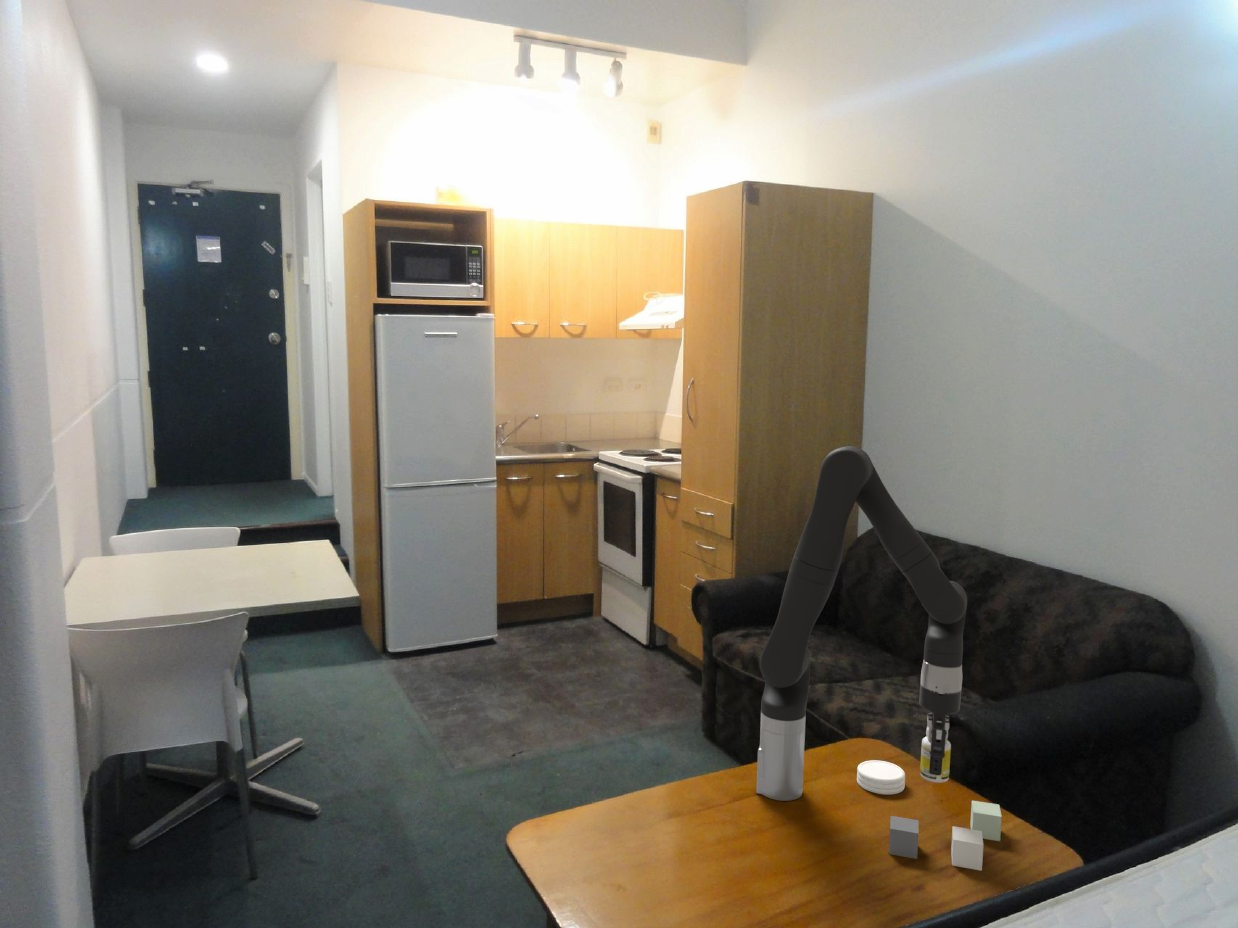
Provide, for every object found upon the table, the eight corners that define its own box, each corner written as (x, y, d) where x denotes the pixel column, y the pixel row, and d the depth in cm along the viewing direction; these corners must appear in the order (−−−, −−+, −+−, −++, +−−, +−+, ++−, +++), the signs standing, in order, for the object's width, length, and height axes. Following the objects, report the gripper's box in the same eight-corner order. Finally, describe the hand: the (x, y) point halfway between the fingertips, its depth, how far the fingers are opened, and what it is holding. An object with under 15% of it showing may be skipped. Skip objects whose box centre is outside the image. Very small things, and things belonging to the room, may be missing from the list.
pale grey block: (952, 865, 158) (953, 839, 158) (951, 851, 163) (952, 825, 162) (981, 870, 157) (983, 844, 156) (980, 856, 161) (981, 830, 161)
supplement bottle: (944, 771, 174) (948, 724, 173) (952, 784, 169) (955, 735, 168) (916, 769, 175) (920, 722, 174) (923, 782, 170) (926, 733, 169)
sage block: (971, 836, 168) (973, 812, 168) (970, 824, 173) (971, 800, 172) (1000, 841, 167) (1001, 816, 166) (997, 828, 171) (999, 804, 171)
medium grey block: (888, 854, 162) (889, 828, 161) (889, 840, 166) (890, 815, 166) (917, 859, 160) (918, 833, 160) (917, 845, 165) (918, 820, 164)
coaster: (848, 776, 193) (848, 761, 193) (888, 772, 195) (889, 757, 195) (871, 798, 183) (872, 782, 183) (914, 793, 186) (914, 777, 185)
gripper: (920, 669, 178) (914, 749, 180) (920, 694, 164) (914, 779, 166) (959, 675, 175) (953, 755, 177) (963, 700, 162) (956, 787, 164)
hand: (934, 767), depth 172 cm, fingers closed on supplement bottle, 5 cm apart
